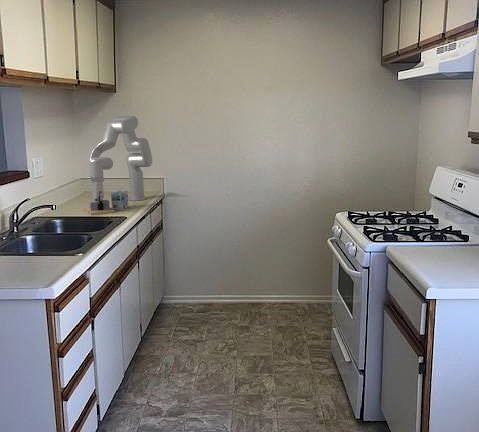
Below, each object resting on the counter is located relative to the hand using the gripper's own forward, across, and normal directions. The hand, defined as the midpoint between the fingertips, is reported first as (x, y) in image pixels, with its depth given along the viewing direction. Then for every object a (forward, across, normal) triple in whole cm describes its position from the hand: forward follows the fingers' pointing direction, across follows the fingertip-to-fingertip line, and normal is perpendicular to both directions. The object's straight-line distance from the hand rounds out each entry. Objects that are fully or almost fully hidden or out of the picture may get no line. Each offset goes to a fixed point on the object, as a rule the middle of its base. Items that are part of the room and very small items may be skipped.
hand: (99, 208), depth 334 cm
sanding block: (0, 0, 0) cm, 0 cm away
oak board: (+2, -3, 0) cm, 3 cm away
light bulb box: (+2, -5, +14) cm, 15 cm away
